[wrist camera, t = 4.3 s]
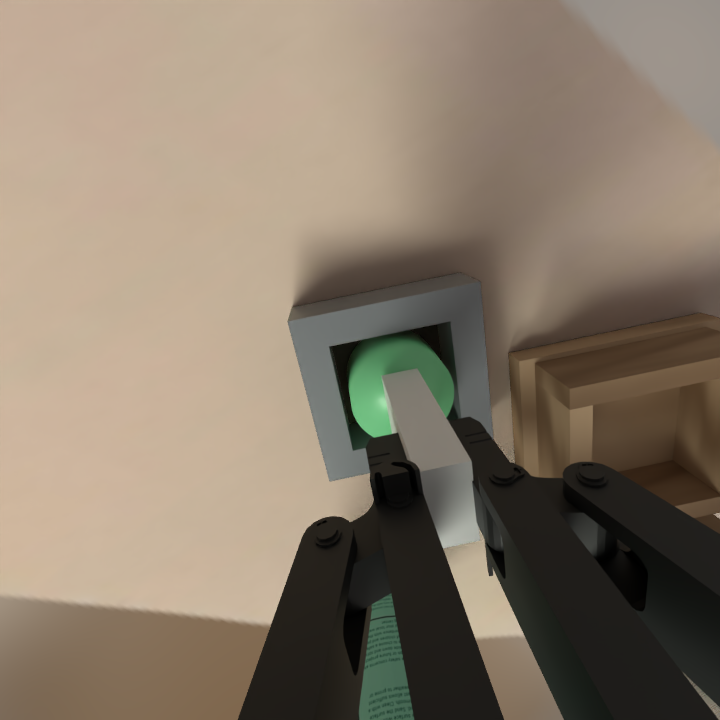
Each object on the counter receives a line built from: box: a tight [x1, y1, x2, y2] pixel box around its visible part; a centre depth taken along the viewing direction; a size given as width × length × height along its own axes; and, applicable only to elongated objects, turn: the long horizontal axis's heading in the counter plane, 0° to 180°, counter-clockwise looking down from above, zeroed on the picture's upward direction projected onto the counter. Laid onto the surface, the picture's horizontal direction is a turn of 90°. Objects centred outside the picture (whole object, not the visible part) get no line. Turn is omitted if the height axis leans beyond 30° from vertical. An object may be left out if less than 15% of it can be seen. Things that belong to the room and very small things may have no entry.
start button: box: [347, 330, 454, 438], centre depth 19 cm, size 4×4×3 cm
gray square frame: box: [288, 273, 493, 481], centre depth 19 cm, size 8×8×2 cm
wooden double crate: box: [509, 313, 720, 534], centre depth 22 cm, size 19×10×4 cm, turn 11°
